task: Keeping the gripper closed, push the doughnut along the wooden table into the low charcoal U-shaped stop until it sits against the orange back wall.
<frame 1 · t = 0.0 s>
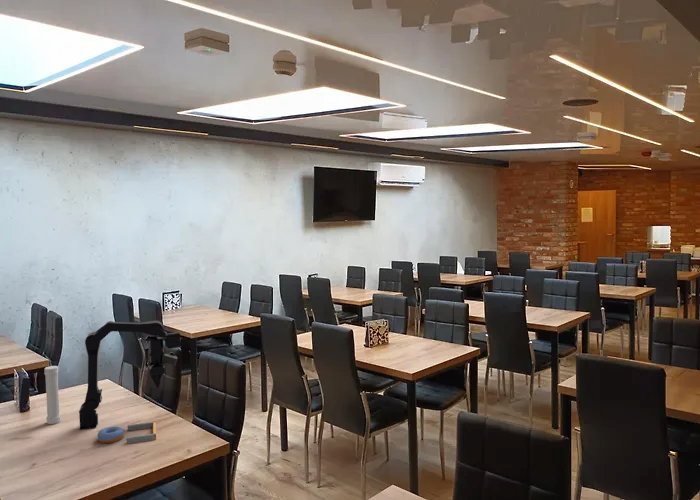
hand: (157, 384, 240), 15 cm above the table, tool pointing down, fingers open, 9 cm apart
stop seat: (141, 434, 222), on the table
pipe: (53, 423, 237), on the table
doughnut: (111, 439, 218), on the table
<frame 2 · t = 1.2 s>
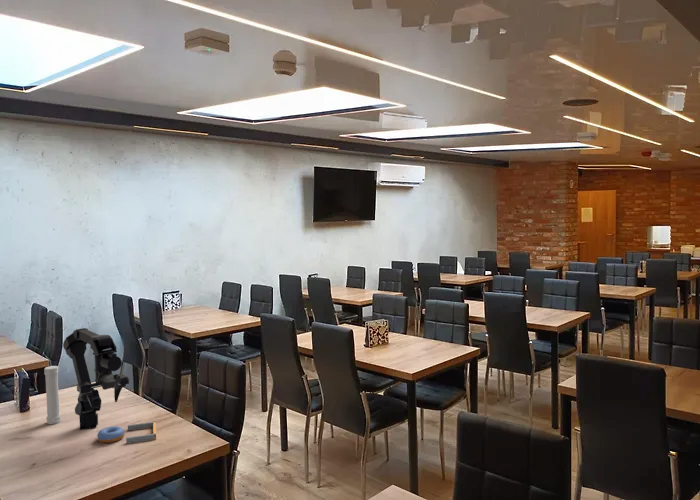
hand: (104, 404, 221), 13 cm above the table, tool pointing down, fingers open, 9 cm apart
nothing on the table moved.
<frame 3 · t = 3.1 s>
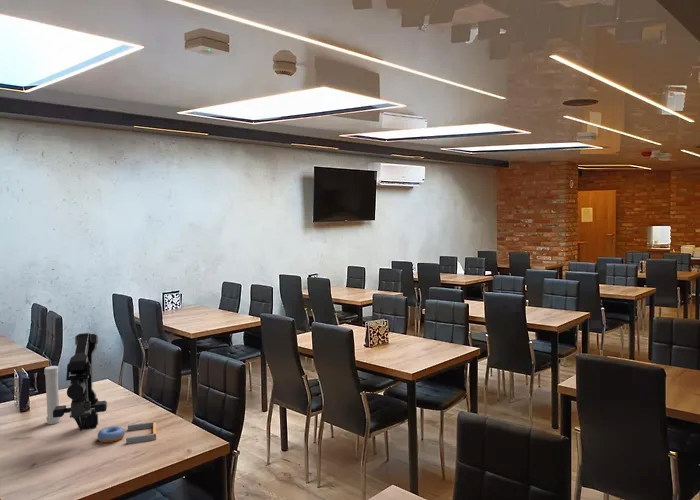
hand: (81, 430, 214), 5 cm above the table, tool pointing down, fingers closed
nothing on the table moved.
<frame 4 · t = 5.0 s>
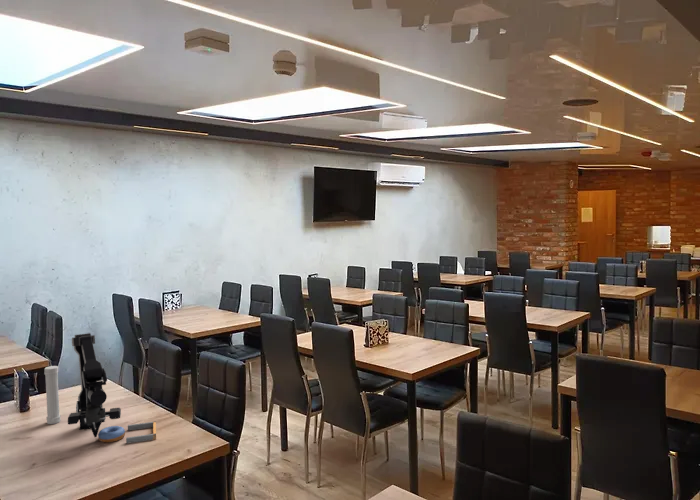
hand: (95, 436, 216), 2 cm above the table, tool pointing down, fingers closed
doughnut: (111, 439, 218), on the table, touching gripper
everything else where it was.
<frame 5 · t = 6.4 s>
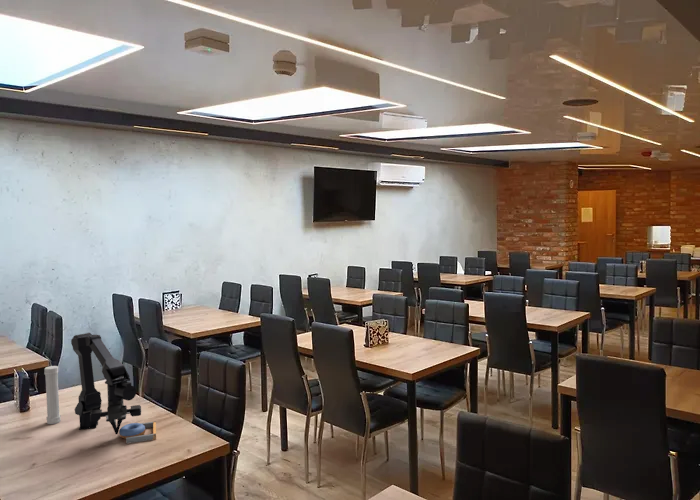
hand: (116, 434, 218), 2 cm above the table, tool pointing down, fingers closed
doughnut: (132, 436, 221), on the table, touching gripper
everything else where it was.
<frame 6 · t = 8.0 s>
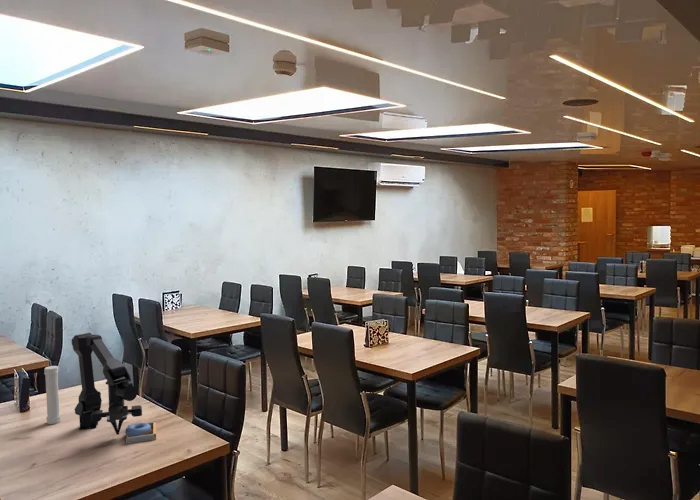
hand: (117, 434, 219), 1 cm above the table, tool pointing down, fingers closed
doughnut: (138, 435, 222), on the table
everything else where it was.
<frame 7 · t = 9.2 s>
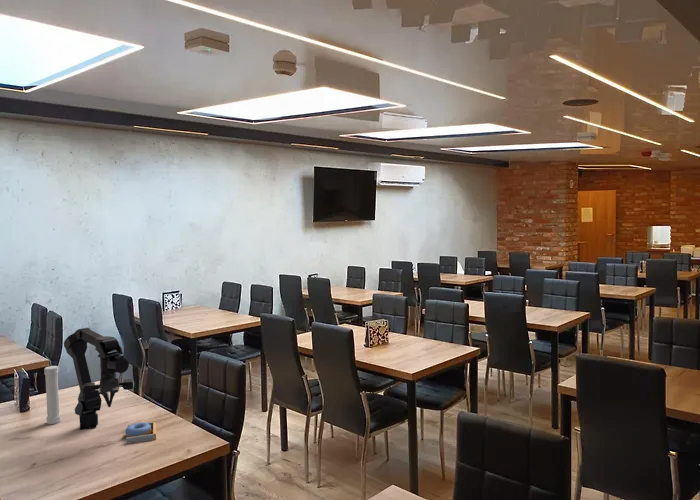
hand: (109, 406, 221), 12 cm above the table, tool pointing down, fingers closed
nothing on the table moved.
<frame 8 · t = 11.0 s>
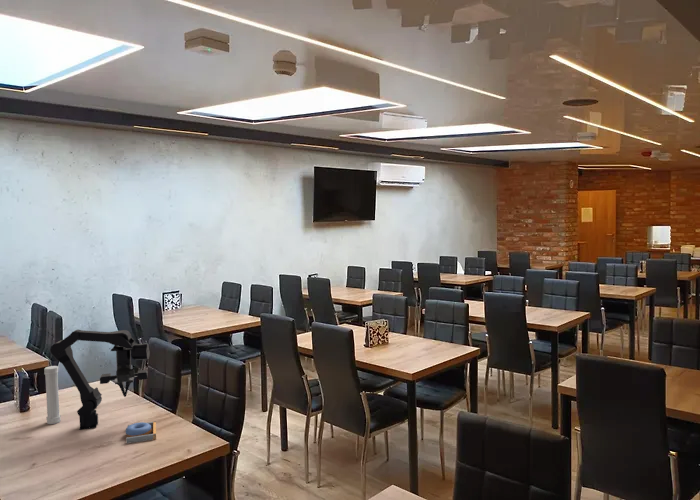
hand: (125, 396, 233), 12 cm above the table, tool pointing down, fingers closed
nothing on the table moved.
at the end: doughnut 1.7 cm off-centre on the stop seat, point -0.5 cm above the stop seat's base; doughnut tilted 1°; the gripper is holding nothing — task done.
